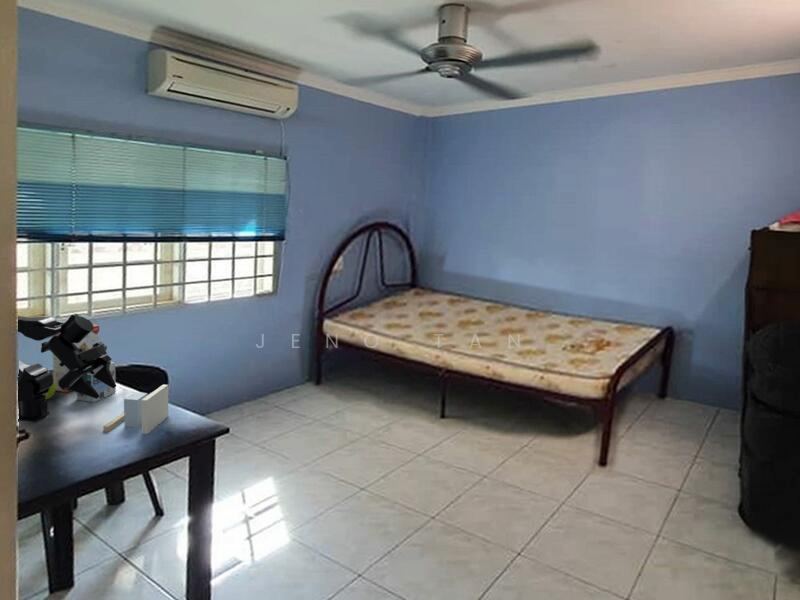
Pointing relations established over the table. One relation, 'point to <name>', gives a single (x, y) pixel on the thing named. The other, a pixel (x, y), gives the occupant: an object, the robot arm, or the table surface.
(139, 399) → the pale grey square box
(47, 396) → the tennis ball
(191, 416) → the table surface
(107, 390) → the light bulb box
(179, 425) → the table surface
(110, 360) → the robot arm
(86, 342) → the cracker box
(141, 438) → the table surface
